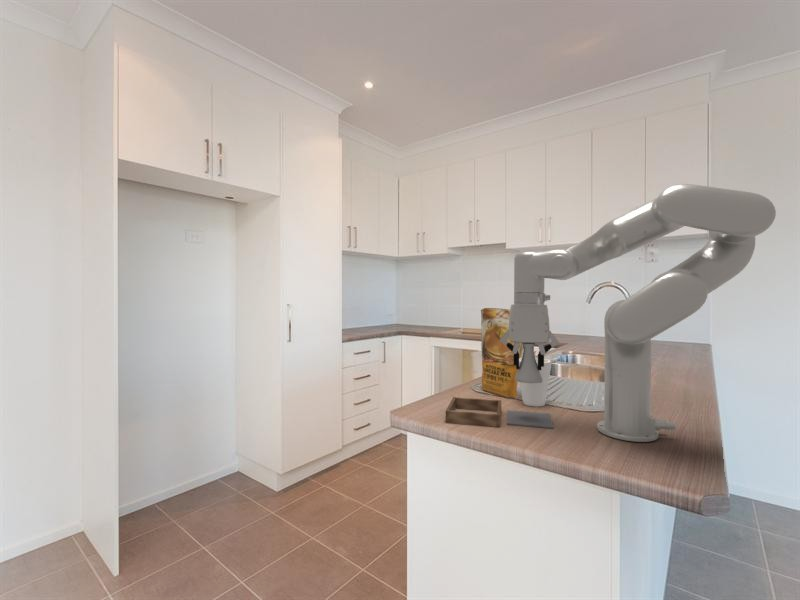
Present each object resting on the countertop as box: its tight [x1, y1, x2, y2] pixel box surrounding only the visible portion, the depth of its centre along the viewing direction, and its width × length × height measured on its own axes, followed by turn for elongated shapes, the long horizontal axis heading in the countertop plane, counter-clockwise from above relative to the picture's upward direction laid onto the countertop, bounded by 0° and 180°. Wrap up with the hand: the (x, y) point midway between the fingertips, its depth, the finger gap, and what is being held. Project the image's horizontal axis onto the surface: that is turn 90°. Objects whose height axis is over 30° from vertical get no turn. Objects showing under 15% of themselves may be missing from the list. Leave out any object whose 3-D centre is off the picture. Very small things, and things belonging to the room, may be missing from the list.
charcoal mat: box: [506, 410, 554, 429], centre depth 103 cm, size 11×11×1 cm
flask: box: [514, 343, 543, 383], centre depth 103 cm, size 7×7×10 cm
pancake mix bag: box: [480, 307, 524, 399], centre depth 130 cm, size 7×19×28 cm, turn 31°
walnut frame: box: [445, 396, 502, 428], centre depth 106 cm, size 14×14×3 cm
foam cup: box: [519, 357, 552, 407], centre depth 118 cm, size 10×9×13 cm
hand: (528, 368), depth 103 cm, fingers closed on flask, 4 cm apart
